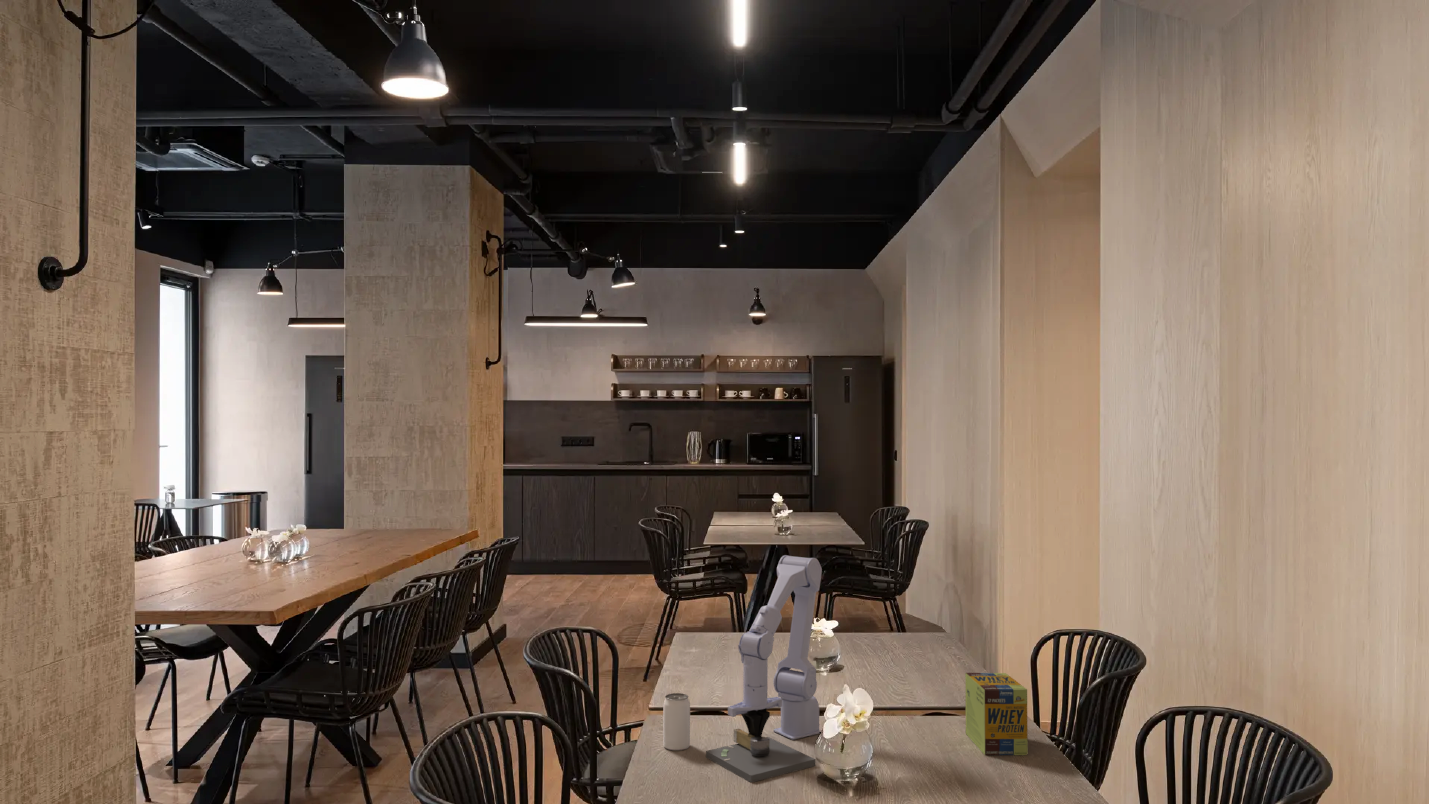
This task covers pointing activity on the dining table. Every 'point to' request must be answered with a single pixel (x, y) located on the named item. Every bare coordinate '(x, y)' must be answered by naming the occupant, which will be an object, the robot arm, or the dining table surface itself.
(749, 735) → the brown bar with cylinder
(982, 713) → the protein box
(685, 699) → the can
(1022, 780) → the dining table surface
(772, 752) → the dial board
